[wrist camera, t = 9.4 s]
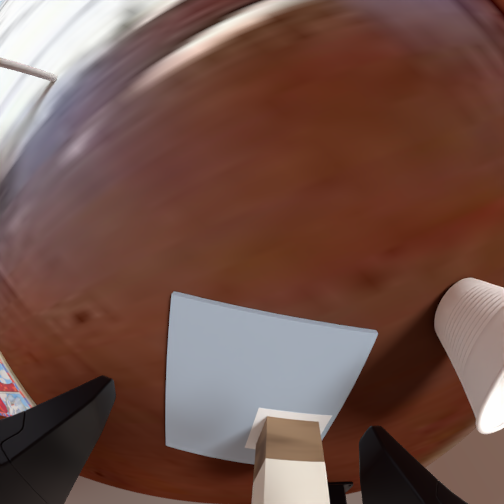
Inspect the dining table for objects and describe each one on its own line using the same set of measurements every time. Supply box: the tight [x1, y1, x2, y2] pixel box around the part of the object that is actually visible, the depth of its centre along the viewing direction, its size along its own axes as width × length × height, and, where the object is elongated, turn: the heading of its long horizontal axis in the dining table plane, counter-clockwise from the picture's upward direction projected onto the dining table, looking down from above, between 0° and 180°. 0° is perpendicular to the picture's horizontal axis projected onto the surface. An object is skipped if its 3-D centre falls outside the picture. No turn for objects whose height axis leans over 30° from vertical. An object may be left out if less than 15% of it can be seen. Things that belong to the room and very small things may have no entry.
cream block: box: [252, 458, 330, 504], centre depth 16 cm, size 5×5×5 cm
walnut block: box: [253, 416, 325, 482], centre depth 21 cm, size 5×5×5 cm
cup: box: [434, 278, 504, 434], centre depth 14 cm, size 10×10×11 cm
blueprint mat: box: [165, 291, 378, 464], centre depth 23 cm, size 20×16×1 cm
